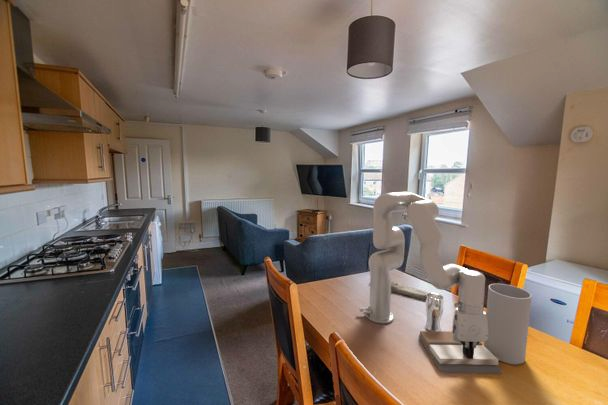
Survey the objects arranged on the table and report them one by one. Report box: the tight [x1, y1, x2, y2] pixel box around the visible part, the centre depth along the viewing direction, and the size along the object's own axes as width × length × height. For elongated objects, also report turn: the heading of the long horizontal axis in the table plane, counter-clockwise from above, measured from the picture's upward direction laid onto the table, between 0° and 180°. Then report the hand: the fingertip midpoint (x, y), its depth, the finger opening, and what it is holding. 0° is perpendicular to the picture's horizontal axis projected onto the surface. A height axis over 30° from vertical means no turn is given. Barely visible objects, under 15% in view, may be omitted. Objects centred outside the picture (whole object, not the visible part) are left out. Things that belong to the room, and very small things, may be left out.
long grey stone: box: [391, 280, 428, 301], centre depth 153 cm, size 35×5×10 cm
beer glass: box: [425, 292, 444, 331], centre depth 115 cm, size 7×7×15 cm
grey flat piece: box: [418, 330, 502, 374], centre depth 100 cm, size 20×19×4 cm
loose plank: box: [430, 344, 499, 366], centre depth 96 cm, size 20×8×2 cm, turn 89°
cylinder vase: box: [483, 283, 533, 365], centre depth 99 cm, size 12×12×25 cm
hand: (467, 356), depth 93 cm, fingers closed
